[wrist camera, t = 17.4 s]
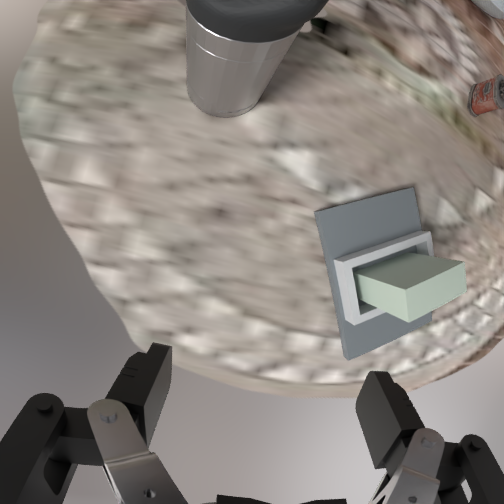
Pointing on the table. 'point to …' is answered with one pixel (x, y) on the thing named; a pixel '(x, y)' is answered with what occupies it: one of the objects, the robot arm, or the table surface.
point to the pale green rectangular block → (411, 284)
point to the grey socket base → (369, 262)
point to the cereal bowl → (491, 7)
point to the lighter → (486, 96)
